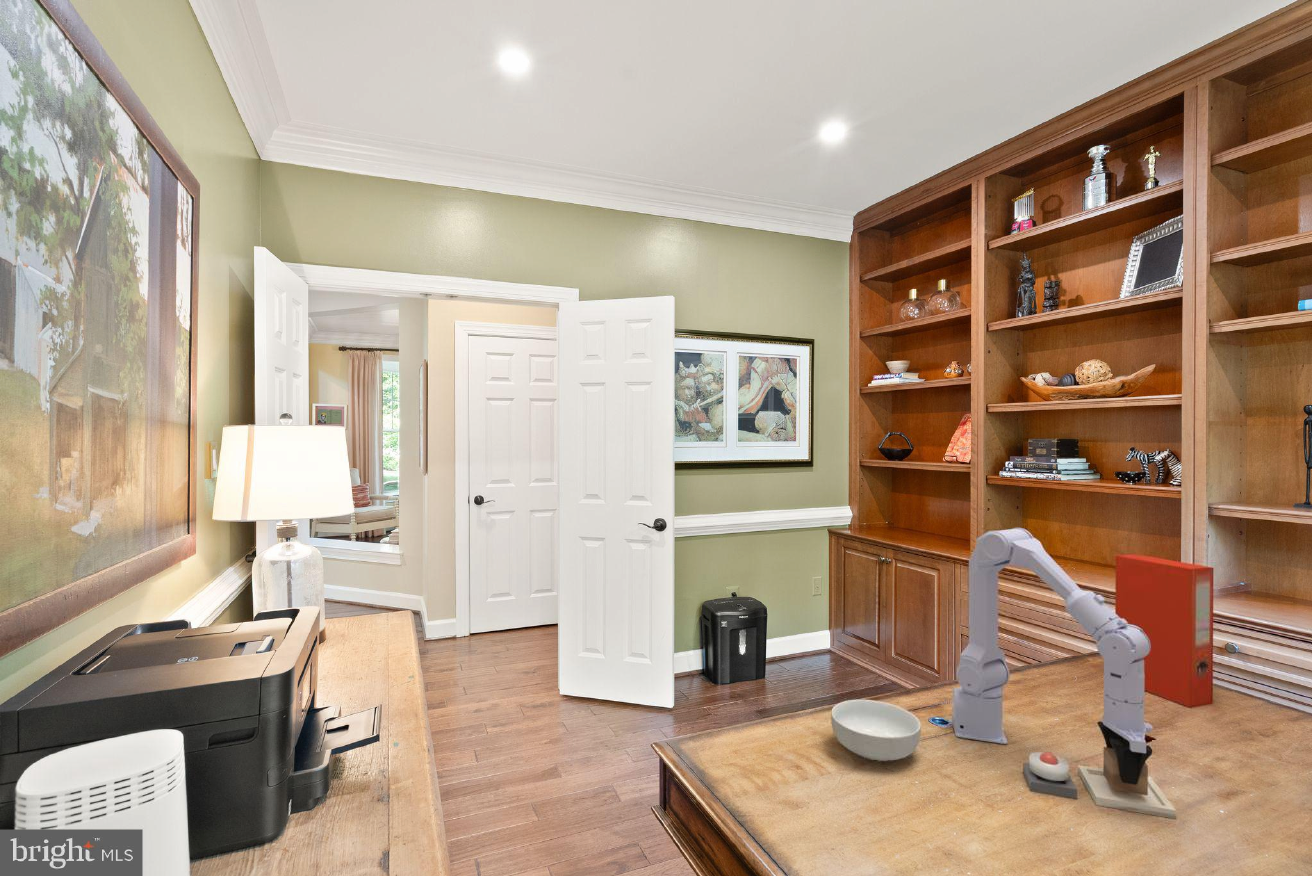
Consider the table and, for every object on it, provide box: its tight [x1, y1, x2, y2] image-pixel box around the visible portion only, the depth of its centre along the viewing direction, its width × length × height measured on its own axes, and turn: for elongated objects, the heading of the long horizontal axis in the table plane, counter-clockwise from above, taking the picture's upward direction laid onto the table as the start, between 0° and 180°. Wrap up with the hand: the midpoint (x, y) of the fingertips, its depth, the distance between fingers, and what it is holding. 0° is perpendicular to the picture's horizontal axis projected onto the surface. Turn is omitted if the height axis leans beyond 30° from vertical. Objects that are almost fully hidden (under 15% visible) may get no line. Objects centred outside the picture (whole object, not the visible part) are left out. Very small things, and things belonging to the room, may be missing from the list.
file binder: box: [1114, 553, 1215, 708], centre depth 154 cm, size 8×17×32 cm, turn 17°
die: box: [1102, 746, 1149, 795], centre depth 109 cm, size 5×5×5 cm
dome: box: [1028, 751, 1070, 783], centre depth 113 cm, size 6×6×5 cm
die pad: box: [1077, 764, 1177, 820], centre depth 109 cm, size 11×11×1 cm
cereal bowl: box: [830, 699, 922, 762], centre depth 124 cm, size 17×17×7 cm
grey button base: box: [1022, 762, 1078, 800], centre depth 113 cm, size 7×7×2 cm
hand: (1123, 774), depth 109 cm, fingers closed on die, 5 cm apart
